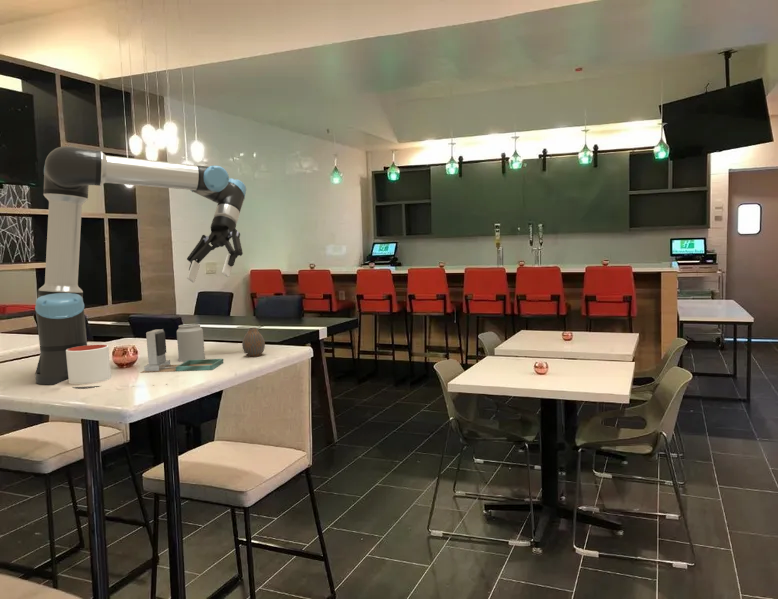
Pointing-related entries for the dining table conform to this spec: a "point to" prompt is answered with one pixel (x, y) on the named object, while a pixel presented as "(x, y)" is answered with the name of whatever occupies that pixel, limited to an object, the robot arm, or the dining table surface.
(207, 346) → the dining table surface
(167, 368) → the teal rectangular pan
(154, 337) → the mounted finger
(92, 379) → the cup
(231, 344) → the dining table surface
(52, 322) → the robot arm
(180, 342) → the can
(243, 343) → the vase
